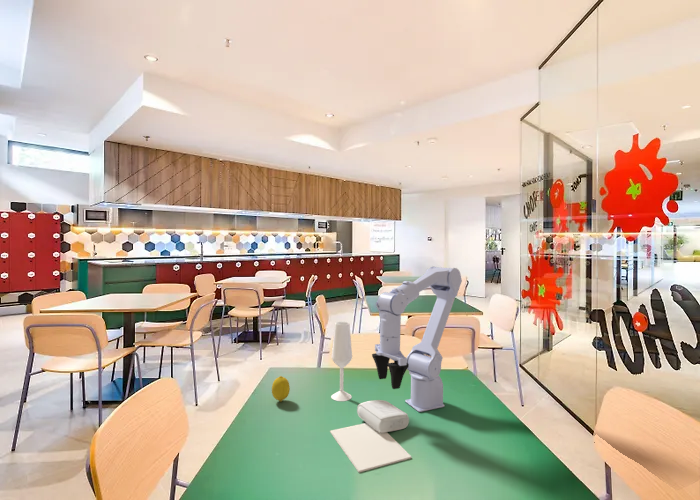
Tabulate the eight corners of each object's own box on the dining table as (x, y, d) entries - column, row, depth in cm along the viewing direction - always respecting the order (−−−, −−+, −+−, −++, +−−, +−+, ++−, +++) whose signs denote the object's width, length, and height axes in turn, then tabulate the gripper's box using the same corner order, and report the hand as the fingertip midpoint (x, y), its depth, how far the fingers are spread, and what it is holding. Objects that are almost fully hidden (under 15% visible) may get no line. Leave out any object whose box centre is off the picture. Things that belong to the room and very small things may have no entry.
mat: (375, 422, 99) (375, 420, 99) (411, 458, 83) (411, 456, 83) (330, 432, 94) (330, 430, 94) (358, 472, 78) (358, 470, 78)
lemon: (268, 403, 110) (268, 378, 110) (278, 396, 116) (278, 372, 115) (283, 406, 108) (283, 380, 108) (292, 399, 113) (293, 374, 113)
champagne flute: (353, 393, 119) (354, 321, 118) (349, 402, 112) (350, 326, 111) (333, 391, 120) (334, 320, 119) (329, 400, 113) (329, 325, 113)
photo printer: (408, 429, 96) (381, 410, 107) (410, 413, 97) (382, 396, 107) (378, 435, 91) (352, 415, 102) (380, 418, 91) (354, 400, 102)
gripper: (366, 330, 106) (365, 376, 106) (390, 343, 92) (389, 395, 93) (386, 328, 109) (385, 373, 109) (413, 340, 95) (412, 391, 95)
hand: (389, 383), depth 101 cm, fingers open, 7 cm apart
